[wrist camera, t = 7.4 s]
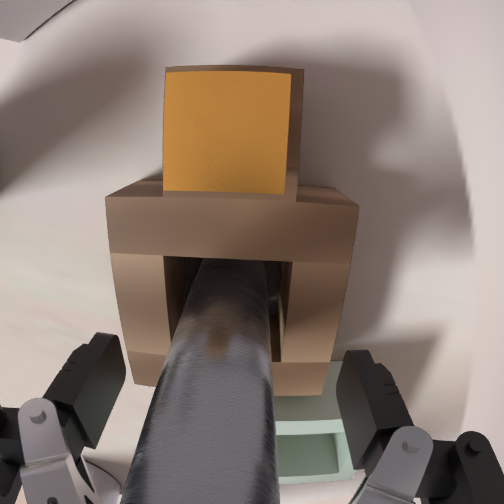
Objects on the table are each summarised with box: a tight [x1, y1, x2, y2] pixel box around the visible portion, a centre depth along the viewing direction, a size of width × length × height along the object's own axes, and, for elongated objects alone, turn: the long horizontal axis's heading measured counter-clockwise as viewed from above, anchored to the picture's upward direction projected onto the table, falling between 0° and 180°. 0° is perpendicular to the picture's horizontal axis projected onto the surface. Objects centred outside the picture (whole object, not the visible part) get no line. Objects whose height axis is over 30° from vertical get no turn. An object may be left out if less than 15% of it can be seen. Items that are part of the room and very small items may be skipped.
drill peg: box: [120, 258, 280, 504], centre depth 11 cm, size 4×4×14 cm
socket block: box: [105, 65, 359, 396], centre depth 14 cm, size 15×10×4 cm, turn 177°
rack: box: [274, 361, 357, 484], centre depth 19 cm, size 8×8×5 cm
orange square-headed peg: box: [163, 71, 291, 195], centre depth 11 cm, size 4×4×6 cm
